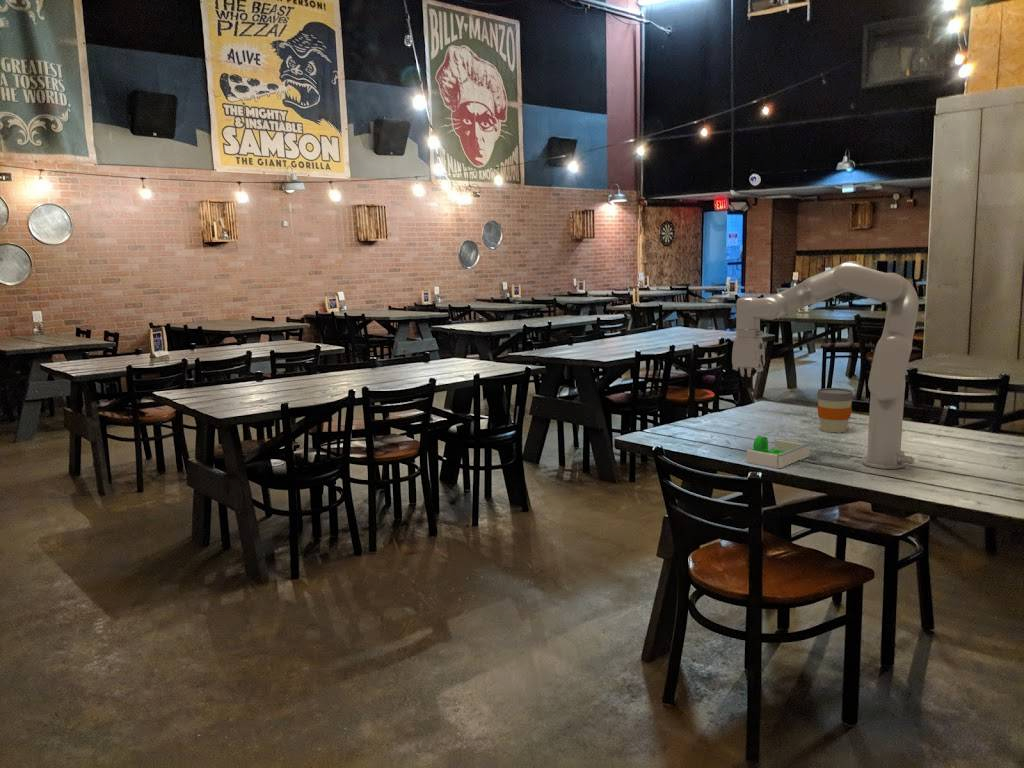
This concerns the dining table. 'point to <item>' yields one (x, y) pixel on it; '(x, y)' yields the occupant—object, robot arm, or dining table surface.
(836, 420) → the reusable coffee cup
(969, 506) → the dining table surface
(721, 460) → the dining table surface
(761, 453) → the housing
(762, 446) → the mechanical part
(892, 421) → the robot arm
